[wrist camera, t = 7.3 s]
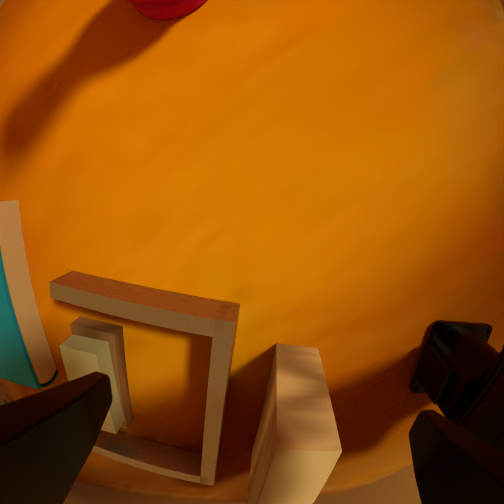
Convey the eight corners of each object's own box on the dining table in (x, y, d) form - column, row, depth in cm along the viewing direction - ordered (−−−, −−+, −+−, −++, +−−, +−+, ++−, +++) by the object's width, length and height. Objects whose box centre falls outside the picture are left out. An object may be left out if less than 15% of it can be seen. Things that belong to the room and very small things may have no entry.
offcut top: (108, 341, 20) (96, 354, 18) (124, 419, 22) (116, 434, 20) (72, 334, 21) (59, 345, 19) (91, 410, 22) (82, 423, 20)
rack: (240, 303, 21) (234, 322, 18) (218, 463, 24) (213, 485, 21) (72, 270, 21) (49, 281, 18) (93, 428, 25) (80, 446, 22)
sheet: (317, 348, 21) (342, 451, 11) (284, 454, 24) (285, 544, 14) (276, 343, 21) (276, 448, 11) (252, 451, 24) (242, 541, 14)
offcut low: (125, 323, 22) (114, 335, 20) (134, 416, 24) (127, 429, 22) (83, 314, 22) (70, 323, 20) (98, 405, 24) (89, 417, 23)
